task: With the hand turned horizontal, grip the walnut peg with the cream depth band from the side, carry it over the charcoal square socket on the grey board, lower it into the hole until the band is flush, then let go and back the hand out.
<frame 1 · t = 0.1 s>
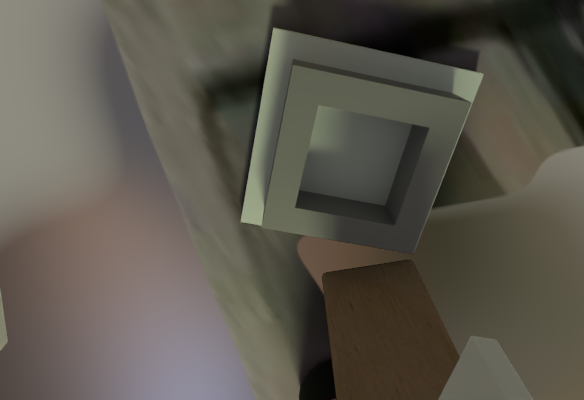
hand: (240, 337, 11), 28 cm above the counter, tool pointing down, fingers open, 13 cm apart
wooden block: (370, 299, 46), on the counter
coffee jar: (340, 384, 52), on the counter
socket board: (350, 148, 38), on the counter
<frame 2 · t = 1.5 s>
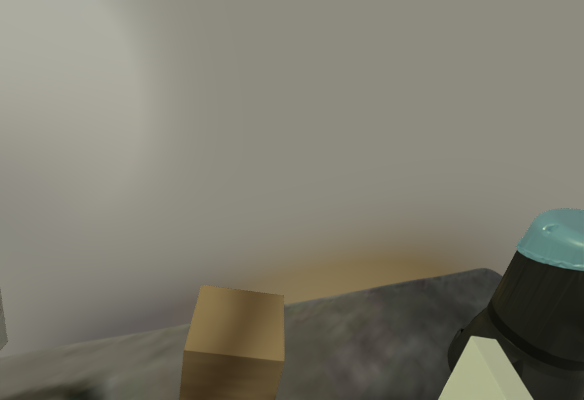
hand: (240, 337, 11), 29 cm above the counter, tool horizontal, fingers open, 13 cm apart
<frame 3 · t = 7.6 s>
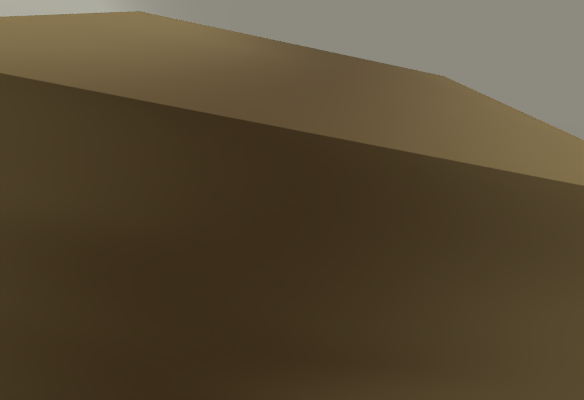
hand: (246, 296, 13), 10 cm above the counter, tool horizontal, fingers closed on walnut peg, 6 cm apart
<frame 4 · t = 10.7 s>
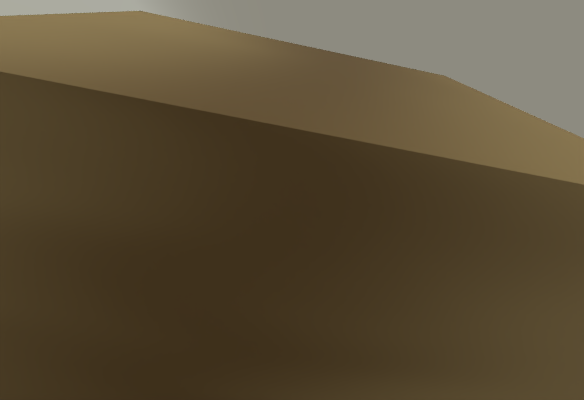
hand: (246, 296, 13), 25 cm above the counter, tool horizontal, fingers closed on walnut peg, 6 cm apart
when the fingers open (12 cm above the counter, at t = 14.2 s): walnut peg stays where it is, resting on socket board.
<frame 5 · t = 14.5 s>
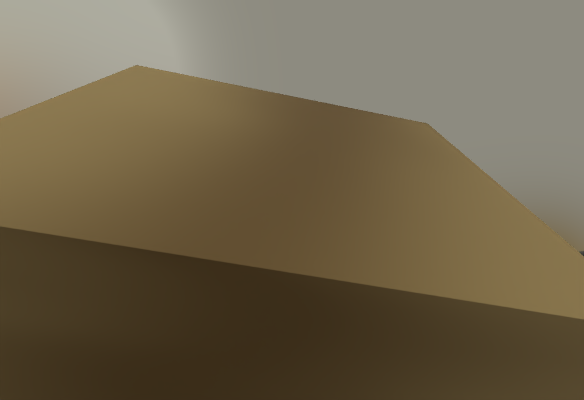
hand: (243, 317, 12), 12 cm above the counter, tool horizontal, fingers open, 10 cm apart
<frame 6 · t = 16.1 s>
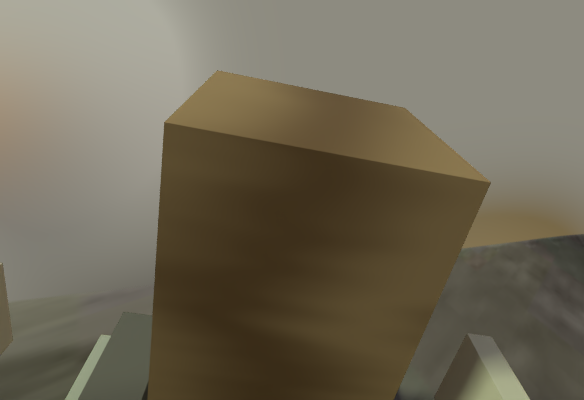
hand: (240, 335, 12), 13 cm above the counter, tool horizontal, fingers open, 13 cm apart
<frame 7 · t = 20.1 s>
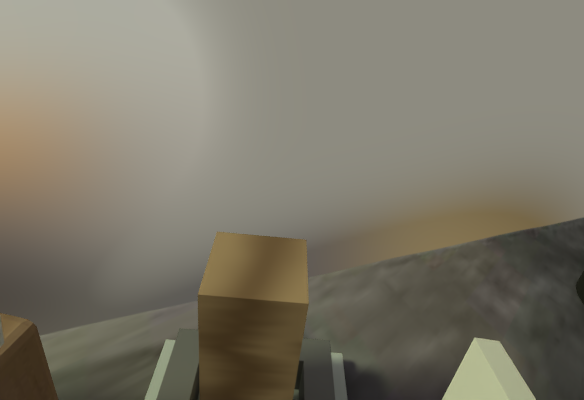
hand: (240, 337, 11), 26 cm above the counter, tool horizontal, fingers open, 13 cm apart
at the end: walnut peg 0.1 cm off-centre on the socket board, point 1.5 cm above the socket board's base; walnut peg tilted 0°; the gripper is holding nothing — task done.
